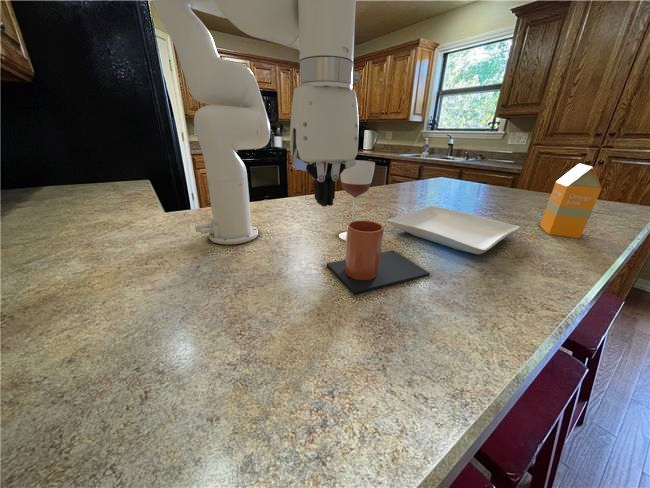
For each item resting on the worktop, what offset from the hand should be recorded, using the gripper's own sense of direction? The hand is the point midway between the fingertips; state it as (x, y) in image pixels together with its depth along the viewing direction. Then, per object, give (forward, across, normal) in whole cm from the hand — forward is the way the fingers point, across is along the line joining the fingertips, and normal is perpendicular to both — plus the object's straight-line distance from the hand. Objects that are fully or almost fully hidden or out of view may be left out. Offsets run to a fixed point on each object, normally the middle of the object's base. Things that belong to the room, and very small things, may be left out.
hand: (324, 204), depth 45 cm
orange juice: (+16, -80, 0) cm, 81 cm away
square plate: (+16, -46, -11) cm, 50 cm away
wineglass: (+16, -18, -20) cm, 31 cm away
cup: (+15, -9, 0) cm, 18 cm away
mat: (+16, -13, -1) cm, 20 cm away
